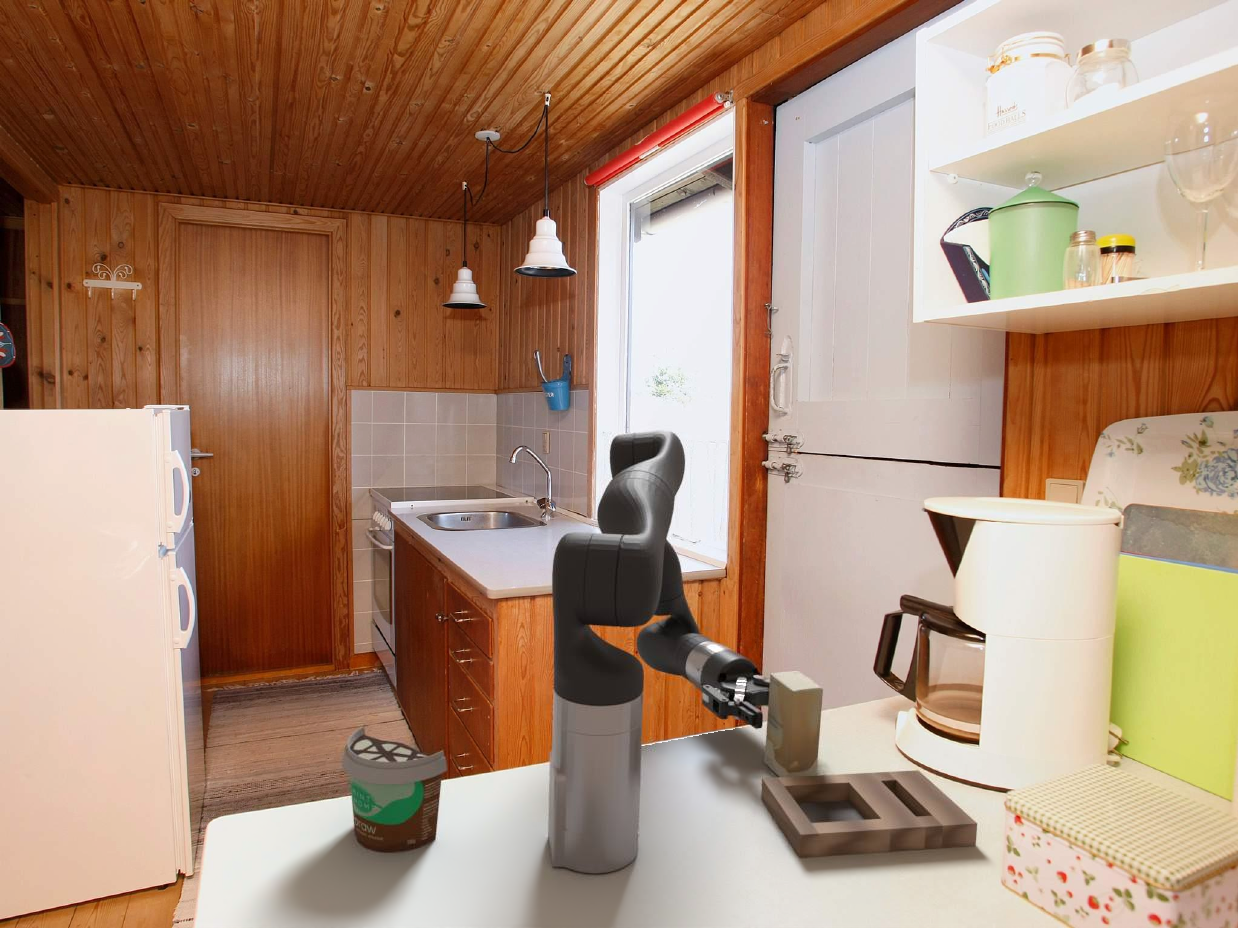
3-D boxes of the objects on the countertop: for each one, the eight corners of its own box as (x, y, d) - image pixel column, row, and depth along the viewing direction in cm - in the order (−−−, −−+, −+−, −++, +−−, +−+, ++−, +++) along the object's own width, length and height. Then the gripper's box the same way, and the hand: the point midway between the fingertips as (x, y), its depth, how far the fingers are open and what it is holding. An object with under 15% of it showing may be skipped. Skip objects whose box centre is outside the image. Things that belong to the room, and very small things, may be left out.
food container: (316, 837, 84) (315, 746, 83) (360, 810, 89) (360, 724, 88) (405, 873, 78) (405, 775, 77) (446, 842, 84) (447, 751, 83)
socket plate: (799, 857, 83) (800, 834, 82) (760, 798, 94) (762, 778, 94) (975, 845, 86) (977, 823, 86) (917, 789, 98) (918, 770, 97)
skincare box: (763, 762, 104) (767, 671, 103) (792, 758, 105) (797, 668, 104) (787, 786, 98) (792, 689, 96) (819, 782, 99) (824, 686, 98)
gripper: (679, 654, 113) (742, 695, 98) (763, 643, 119) (835, 680, 104) (677, 705, 114) (740, 753, 99) (761, 692, 119) (831, 736, 105)
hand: (788, 716), depth 101 cm, fingers open, 8 cm apart
